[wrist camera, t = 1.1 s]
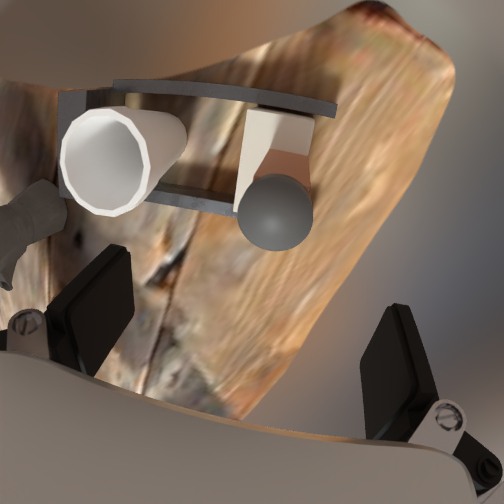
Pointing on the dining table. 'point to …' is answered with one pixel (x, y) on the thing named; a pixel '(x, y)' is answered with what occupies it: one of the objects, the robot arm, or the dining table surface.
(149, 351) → the dining table surface
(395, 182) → the dining table surface
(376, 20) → the dining table surface
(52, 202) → the coffeepot
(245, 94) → the grey frame
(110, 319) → the robot arm
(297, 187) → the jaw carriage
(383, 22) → the dining table surface
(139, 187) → the foam cup
